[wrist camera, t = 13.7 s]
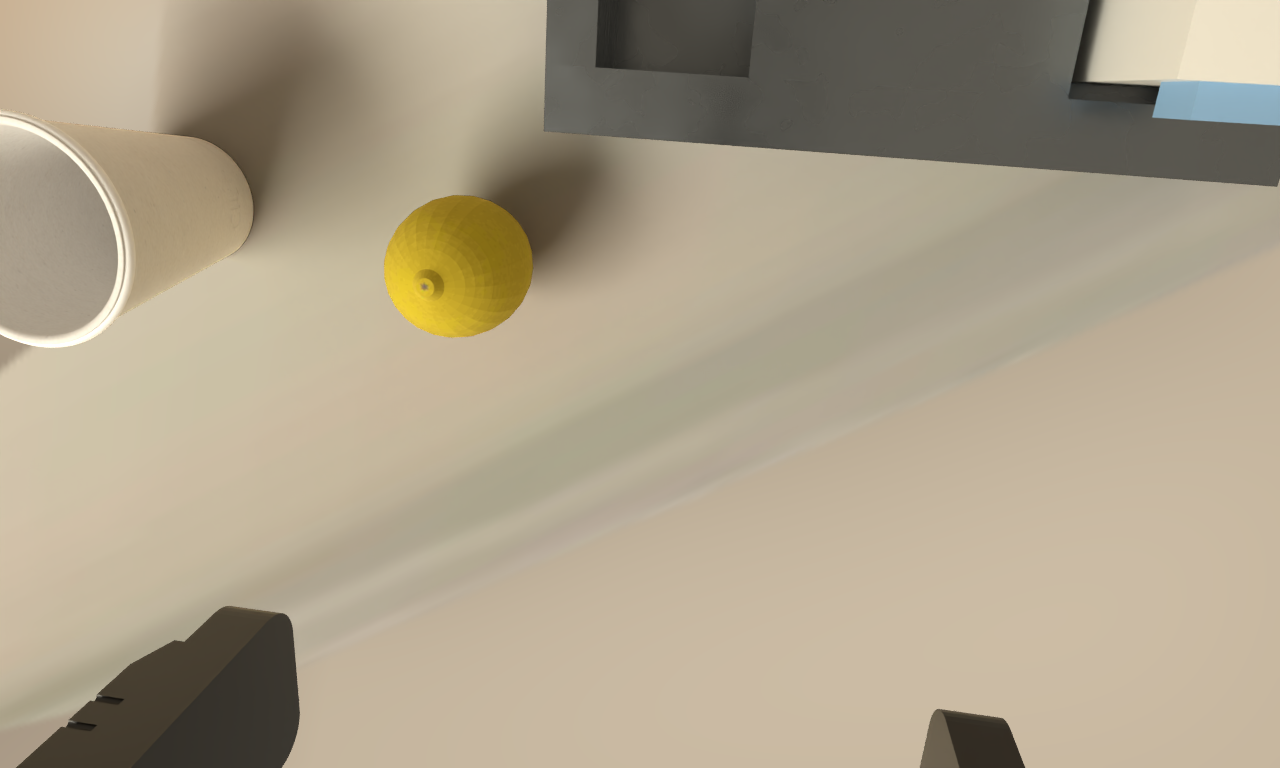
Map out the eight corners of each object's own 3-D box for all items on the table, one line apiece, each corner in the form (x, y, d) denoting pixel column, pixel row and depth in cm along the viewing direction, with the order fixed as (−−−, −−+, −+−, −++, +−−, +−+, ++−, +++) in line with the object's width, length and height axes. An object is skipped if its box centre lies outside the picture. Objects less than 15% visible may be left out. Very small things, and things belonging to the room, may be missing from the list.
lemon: (572, 222, 37) (523, 255, 30) (522, 330, 39) (464, 387, 32) (458, 162, 37) (380, 181, 29) (413, 274, 39) (330, 317, 31)
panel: (582, -149, 32) (550, -191, 28) (1286, -121, 30) (1388, -162, 25) (572, 126, 36) (542, 131, 31) (1204, 172, 33) (1280, 187, 28)
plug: (1079, -36, 31) (1220, -93, 21) (1198, -31, 30) (1395, -86, 21) (1049, 110, 32) (1167, 118, 23) (1161, 117, 32) (1328, 128, 22)
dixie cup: (134, 290, 41) (-52, 349, 32) (91, 108, 38) (-126, 113, 29) (296, 288, 40) (152, 349, 30) (263, 100, 37) (94, 103, 28)
